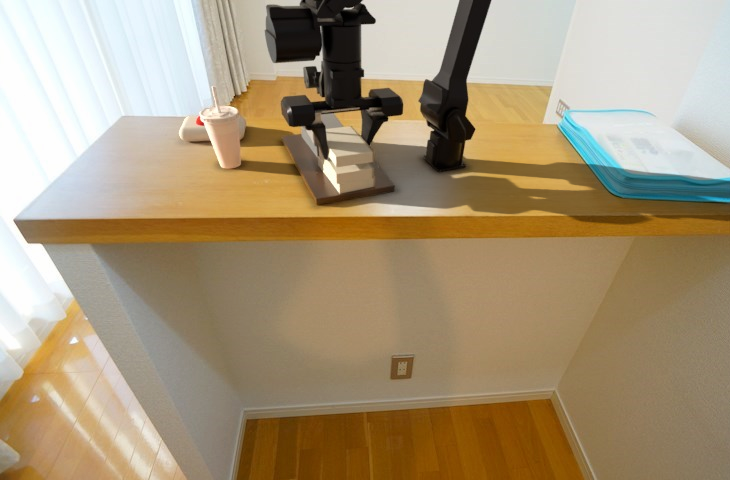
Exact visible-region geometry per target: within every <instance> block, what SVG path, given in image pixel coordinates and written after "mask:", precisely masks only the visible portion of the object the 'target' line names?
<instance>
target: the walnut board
mask: <svg viewBox="0 0 730 480" xmlns="http://www.w3.org/2000/svg"><path fill="white" fill-rule="evenodd" d="M281 142H282V144H283V146H284V148H285V150H286V151H287V153H288V155H289V157H290V158H291V160H292V162H293V164H294V166H295V167H296V170H297V171H298V173H299V175H300V177H301V179H302V180H303V182H304V184H305V186H306V188H307V190H308V191H309V194H310V195H311V197H312V199H313V201H314V203H315V204H316V206H320V205H326V204H332V203H336V202H343V201H348V200H353V199H359V198H365V197H370V196H375V195H381V194H386V193H393V192H395V190H396V189H395V187H396V186H395V184H394V182H392V180H391V179H390V178H389V177H388V176H387V175H386V173H385V172H384V171H383V170H382V169H381V167H379V165H378V164H377V163H376V161H374V162H369V163H370V164H371V165H372V167H373V168H374V176H375V187H371V188H366V189H361V190H356V191H351V192H346V193H341V194H340V193H339V192H338V191H337V189H336V188H335V187H334V185H333V184H332V183H331V181H330V180H329V179H328V177H327V176H326V175H325V174H324V172H323V171H322V170H321V168H320V167H319V166H318V158H317V157H316V155H315V154H314V153H313V151H312V150H311V149H310V147H309V146H308V144H307V143H306V142H305V140H304V139H303V138H302V133H297V134H288V135H281Z"/></svg>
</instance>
